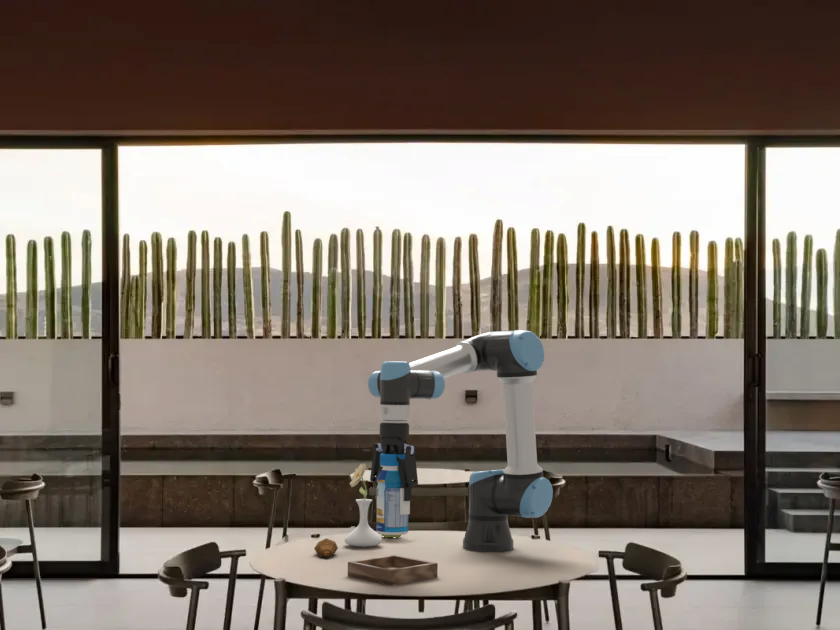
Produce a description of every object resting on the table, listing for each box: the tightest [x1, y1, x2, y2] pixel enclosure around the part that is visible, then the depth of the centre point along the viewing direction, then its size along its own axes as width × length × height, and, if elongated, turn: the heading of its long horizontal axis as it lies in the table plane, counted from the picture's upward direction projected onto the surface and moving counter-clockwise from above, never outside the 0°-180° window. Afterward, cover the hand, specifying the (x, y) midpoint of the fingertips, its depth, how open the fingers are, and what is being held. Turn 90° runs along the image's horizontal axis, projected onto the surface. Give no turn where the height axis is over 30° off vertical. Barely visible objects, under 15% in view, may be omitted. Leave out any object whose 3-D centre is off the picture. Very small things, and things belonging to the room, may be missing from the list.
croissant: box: [313, 537, 339, 559], centre depth 275 cm, size 14×7×5 cm, turn 8°
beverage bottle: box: [375, 453, 409, 536], centre depth 245 cm, size 8×8×20 cm
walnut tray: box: [347, 554, 439, 587], centre depth 244 cm, size 16×16×4 cm
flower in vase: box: [344, 463, 383, 548], centre depth 290 cm, size 13×11×25 cm
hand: (393, 512), depth 245 cm, fingers closed on beverage bottle, 8 cm apart
